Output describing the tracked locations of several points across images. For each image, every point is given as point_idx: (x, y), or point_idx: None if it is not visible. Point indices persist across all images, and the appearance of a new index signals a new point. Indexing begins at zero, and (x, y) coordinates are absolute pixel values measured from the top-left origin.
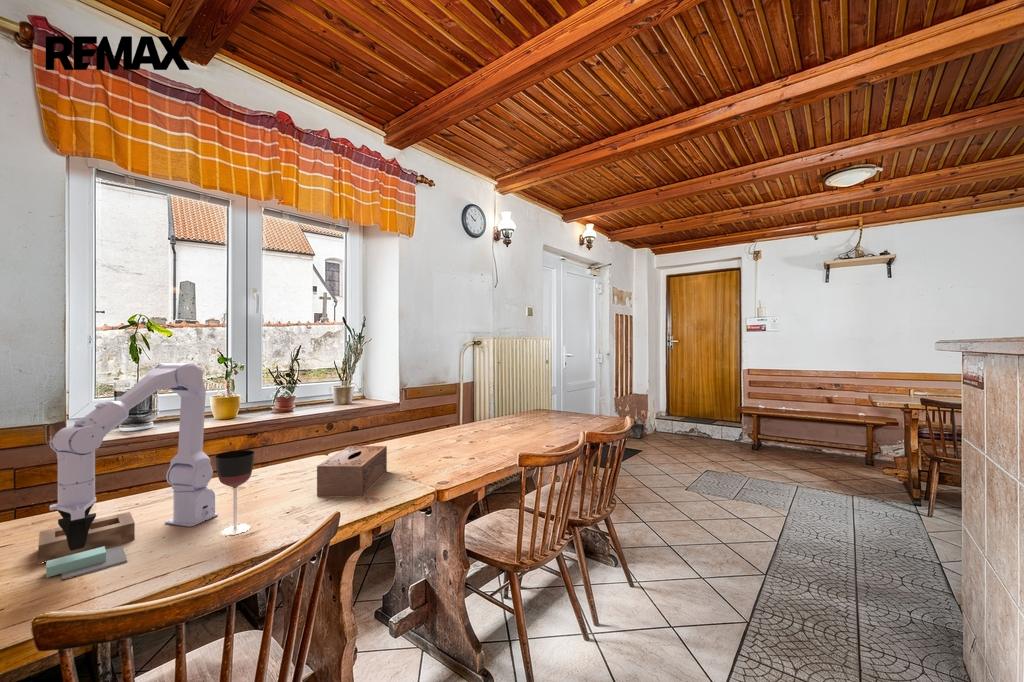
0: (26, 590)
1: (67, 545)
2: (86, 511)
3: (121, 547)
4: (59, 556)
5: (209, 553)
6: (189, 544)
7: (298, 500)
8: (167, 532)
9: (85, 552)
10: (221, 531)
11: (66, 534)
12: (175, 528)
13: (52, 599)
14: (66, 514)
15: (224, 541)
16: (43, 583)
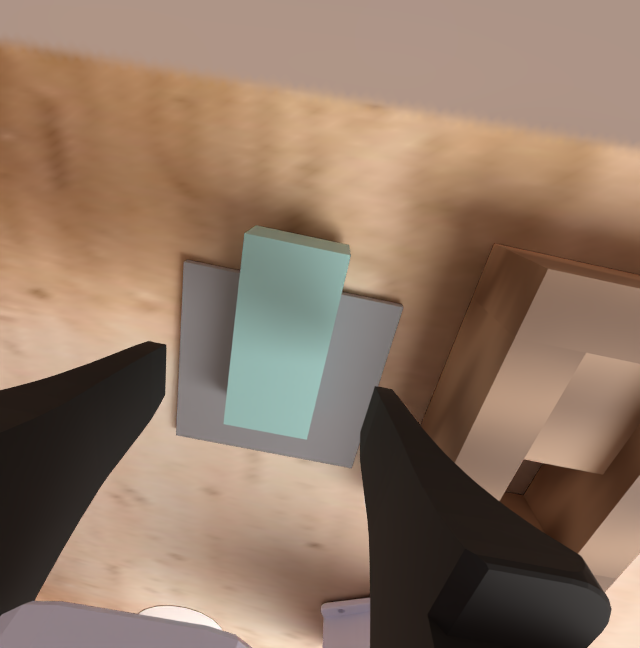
0: (199, 143)
1: (475, 362)
2: (377, 618)
3: (331, 461)
4: (470, 315)
5: None
6: (171, 554)
7: None
8: (349, 562)
9: (301, 381)
10: (193, 619)
11: (14, 390)
12: (363, 582)
13: (7, 192)
14: (424, 540)
15: (110, 595)
16: (222, 207)
